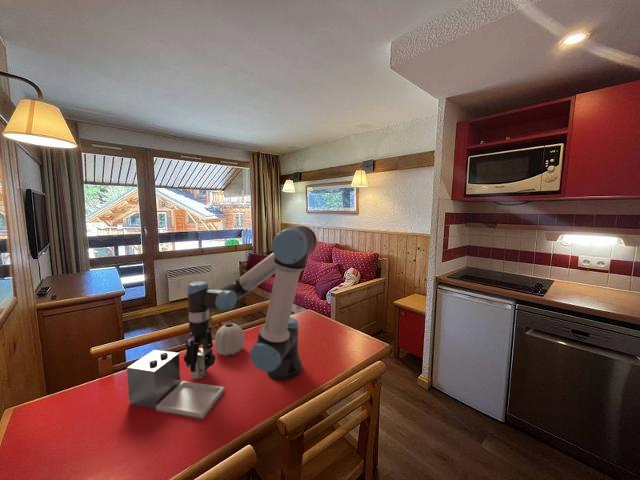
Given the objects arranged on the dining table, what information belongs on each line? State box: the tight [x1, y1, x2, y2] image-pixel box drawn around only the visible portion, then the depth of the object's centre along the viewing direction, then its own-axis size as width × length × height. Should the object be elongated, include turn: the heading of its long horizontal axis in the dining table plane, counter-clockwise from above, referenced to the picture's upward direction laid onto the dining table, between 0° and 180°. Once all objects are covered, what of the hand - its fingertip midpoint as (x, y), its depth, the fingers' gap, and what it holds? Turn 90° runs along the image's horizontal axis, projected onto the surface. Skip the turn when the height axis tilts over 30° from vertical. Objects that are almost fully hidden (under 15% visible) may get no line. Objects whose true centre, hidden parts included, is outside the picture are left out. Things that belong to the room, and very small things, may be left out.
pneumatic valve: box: [183, 347, 216, 379], centre depth 111 cm, size 6×12×12 cm, turn 78°
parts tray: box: [155, 380, 225, 420], centre depth 97 cm, size 18×14×2 cm
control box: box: [126, 349, 181, 410], centre depth 98 cm, size 11×12×15 cm
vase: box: [214, 322, 245, 357], centre depth 130 cm, size 14×14×13 cm
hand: (200, 371), depth 111 cm, fingers open, 7 cm apart
